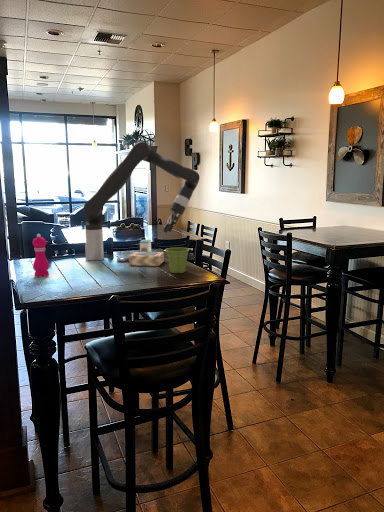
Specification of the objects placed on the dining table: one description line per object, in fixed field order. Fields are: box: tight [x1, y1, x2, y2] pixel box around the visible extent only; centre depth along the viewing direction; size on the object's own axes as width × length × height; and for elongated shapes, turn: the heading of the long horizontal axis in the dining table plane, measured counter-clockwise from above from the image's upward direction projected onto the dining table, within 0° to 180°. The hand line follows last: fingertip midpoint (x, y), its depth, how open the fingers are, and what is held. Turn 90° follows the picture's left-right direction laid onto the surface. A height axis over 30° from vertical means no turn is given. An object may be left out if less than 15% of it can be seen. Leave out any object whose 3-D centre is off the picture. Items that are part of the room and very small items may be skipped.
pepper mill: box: [32, 233, 50, 278], centre depth 195 cm, size 7×7×20 cm
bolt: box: [117, 255, 130, 263], centre depth 228 cm, size 8×3×3 cm, turn 103°
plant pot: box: [164, 247, 190, 274], centre depth 201 cm, size 12×12×11 cm
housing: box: [139, 239, 152, 252], centre depth 237 cm, size 5×7×10 cm
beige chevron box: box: [128, 251, 165, 267], centre depth 224 cm, size 16×13×5 cm
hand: (166, 231), depth 222 cm, fingers open, 8 cm apart
